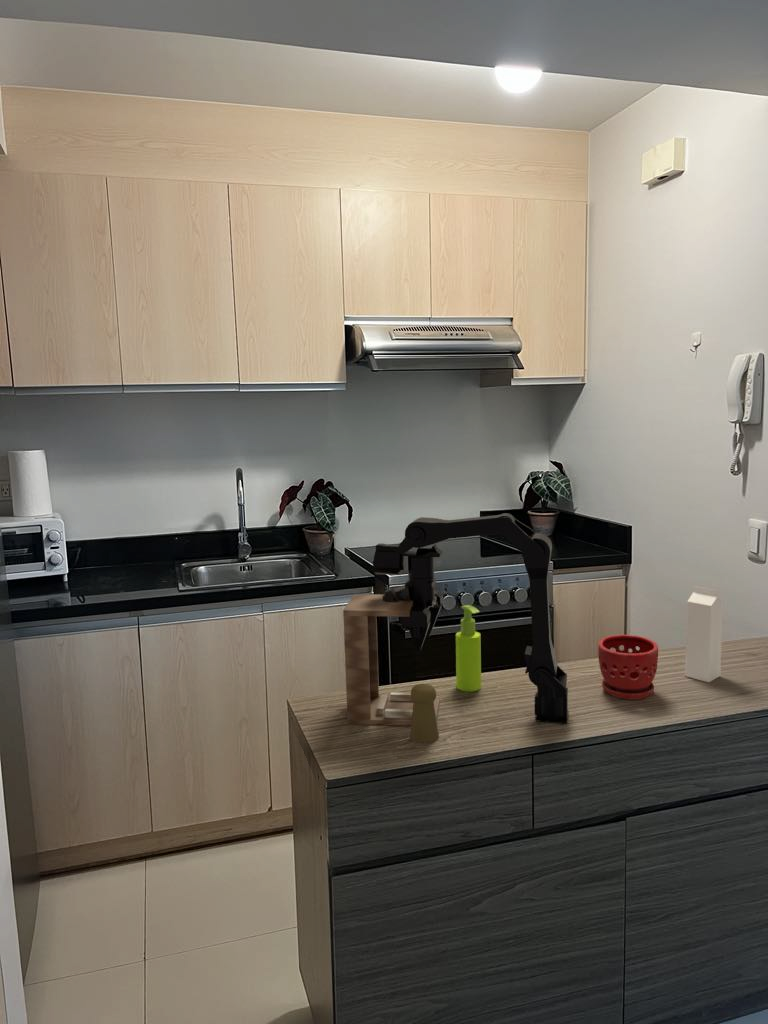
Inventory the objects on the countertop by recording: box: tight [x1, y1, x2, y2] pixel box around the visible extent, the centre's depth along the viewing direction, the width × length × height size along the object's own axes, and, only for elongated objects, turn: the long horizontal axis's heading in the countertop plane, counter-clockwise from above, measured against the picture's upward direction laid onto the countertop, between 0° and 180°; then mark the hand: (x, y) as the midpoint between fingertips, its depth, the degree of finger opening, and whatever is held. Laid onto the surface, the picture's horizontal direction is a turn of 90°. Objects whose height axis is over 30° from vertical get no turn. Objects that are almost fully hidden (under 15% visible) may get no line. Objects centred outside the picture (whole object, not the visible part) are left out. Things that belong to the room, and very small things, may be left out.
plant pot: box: [597, 634, 659, 700], centre depth 174 cm, size 13×13×12 cm
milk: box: [684, 585, 724, 683], centre depth 182 cm, size 6×6×22 cm
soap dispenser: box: [455, 604, 482, 692], centre depth 180 cm, size 6×7×20 cm
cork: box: [409, 683, 440, 745], centre depth 155 cm, size 6×6×11 cm
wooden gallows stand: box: [342, 593, 441, 726], centre depth 166 cm, size 19×13×25 cm
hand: (422, 643), depth 169 cm, fingers open, 9 cm apart
